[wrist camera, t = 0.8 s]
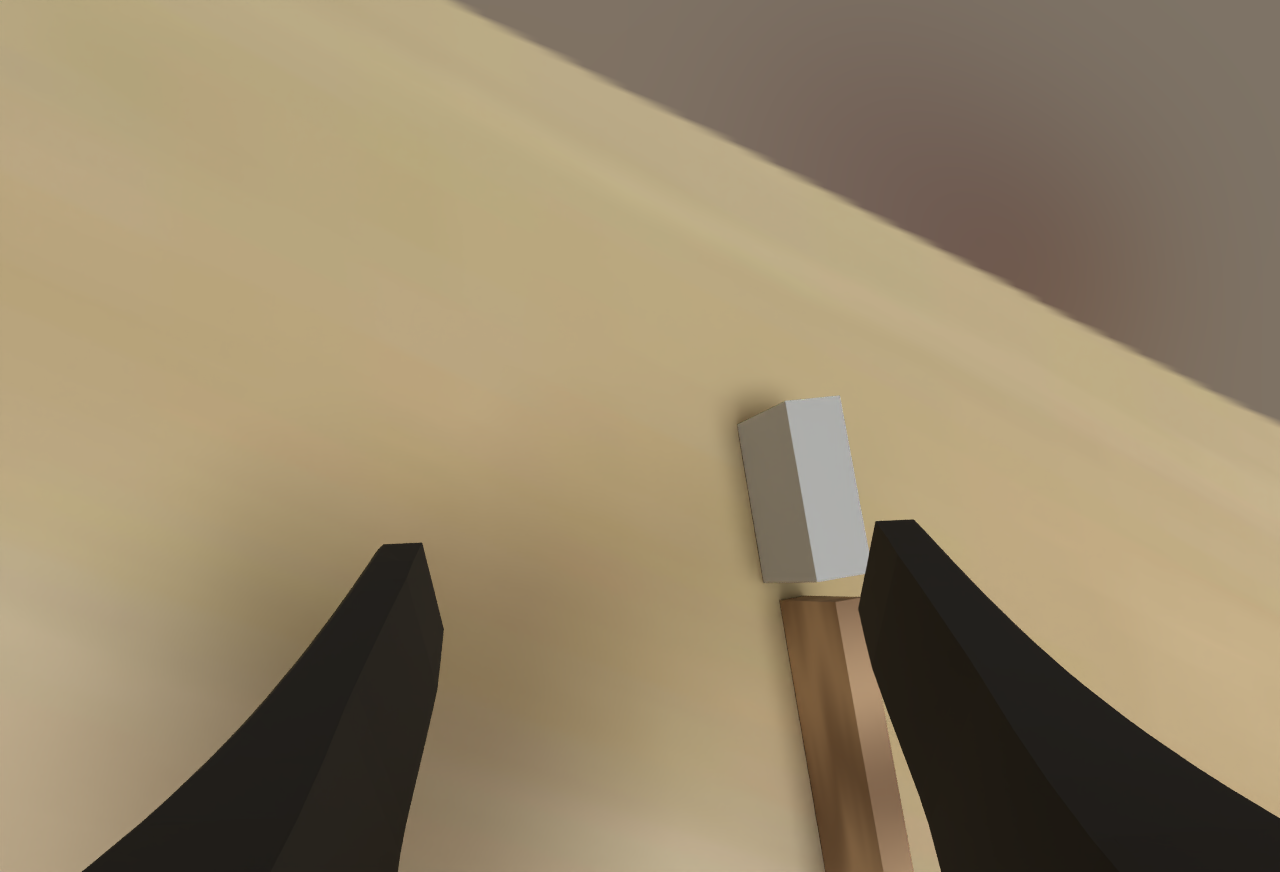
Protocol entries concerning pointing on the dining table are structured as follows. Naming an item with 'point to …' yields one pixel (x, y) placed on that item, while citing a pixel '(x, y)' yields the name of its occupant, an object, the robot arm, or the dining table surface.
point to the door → (845, 737)
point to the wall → (803, 492)
